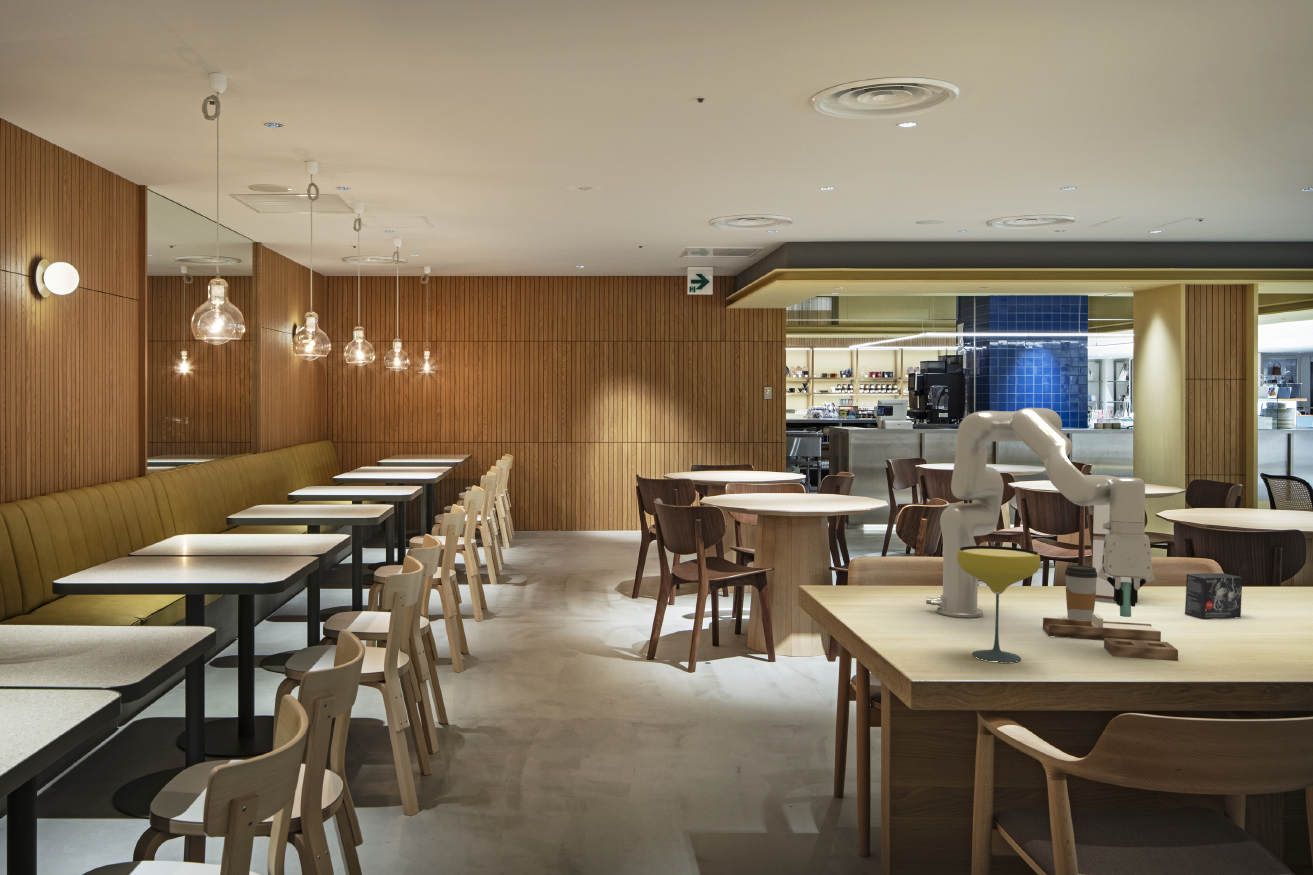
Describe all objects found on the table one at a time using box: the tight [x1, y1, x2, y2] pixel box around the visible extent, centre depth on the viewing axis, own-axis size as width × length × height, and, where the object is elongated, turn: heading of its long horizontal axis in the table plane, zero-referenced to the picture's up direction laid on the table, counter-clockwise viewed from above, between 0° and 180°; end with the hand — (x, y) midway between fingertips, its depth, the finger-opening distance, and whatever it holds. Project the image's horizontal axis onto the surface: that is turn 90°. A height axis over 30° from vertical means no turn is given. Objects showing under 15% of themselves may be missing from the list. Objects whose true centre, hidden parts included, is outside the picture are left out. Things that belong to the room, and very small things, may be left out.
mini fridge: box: [1092, 505, 1131, 604], centre depth 277 cm, size 11×11×35 cm
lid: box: [1091, 612, 1157, 631], centre depth 229 cm, size 14×6×3 cm, turn 76°
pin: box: [1119, 582, 1132, 618], centre depth 213 cm, size 2×2×8 cm
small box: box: [1184, 572, 1243, 620], centre depth 256 cm, size 13×7×12 cm, turn 102°
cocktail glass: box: [957, 545, 1041, 663], centre depth 208 cm, size 18×18×25 cm
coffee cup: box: [1064, 564, 1098, 621], centre depth 248 cm, size 8×8×15 cm
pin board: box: [1103, 638, 1179, 661], centre depth 212 cm, size 14×8×2 cm, turn 76°
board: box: [1042, 617, 1162, 642], centre depth 230 cm, size 26×9×3 cm, turn 76°
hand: (1125, 604), depth 213 cm, fingers closed on pin, 2 cm apart
